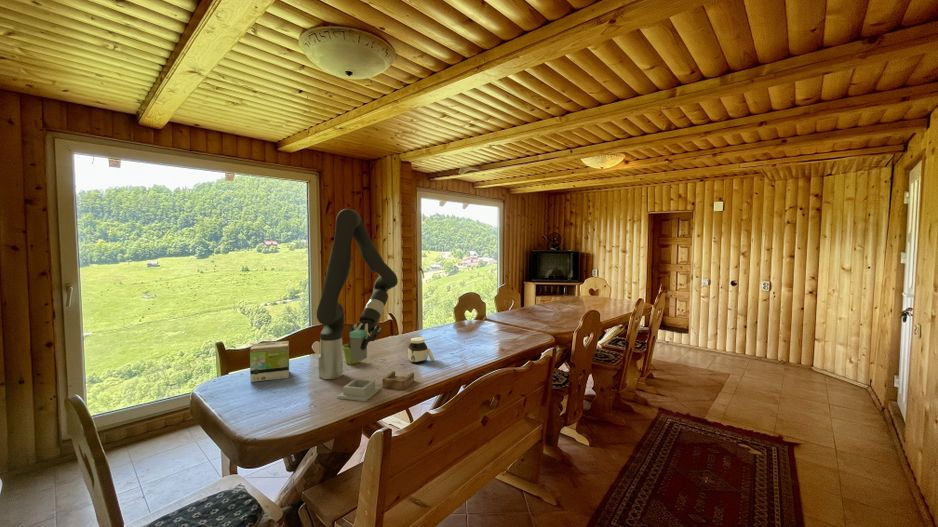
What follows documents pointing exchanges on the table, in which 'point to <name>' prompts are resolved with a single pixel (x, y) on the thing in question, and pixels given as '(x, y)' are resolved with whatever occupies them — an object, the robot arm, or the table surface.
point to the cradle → (397, 381)
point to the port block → (359, 390)
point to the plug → (357, 345)
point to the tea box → (269, 361)
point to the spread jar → (418, 351)
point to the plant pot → (348, 355)
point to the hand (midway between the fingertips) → (356, 348)
